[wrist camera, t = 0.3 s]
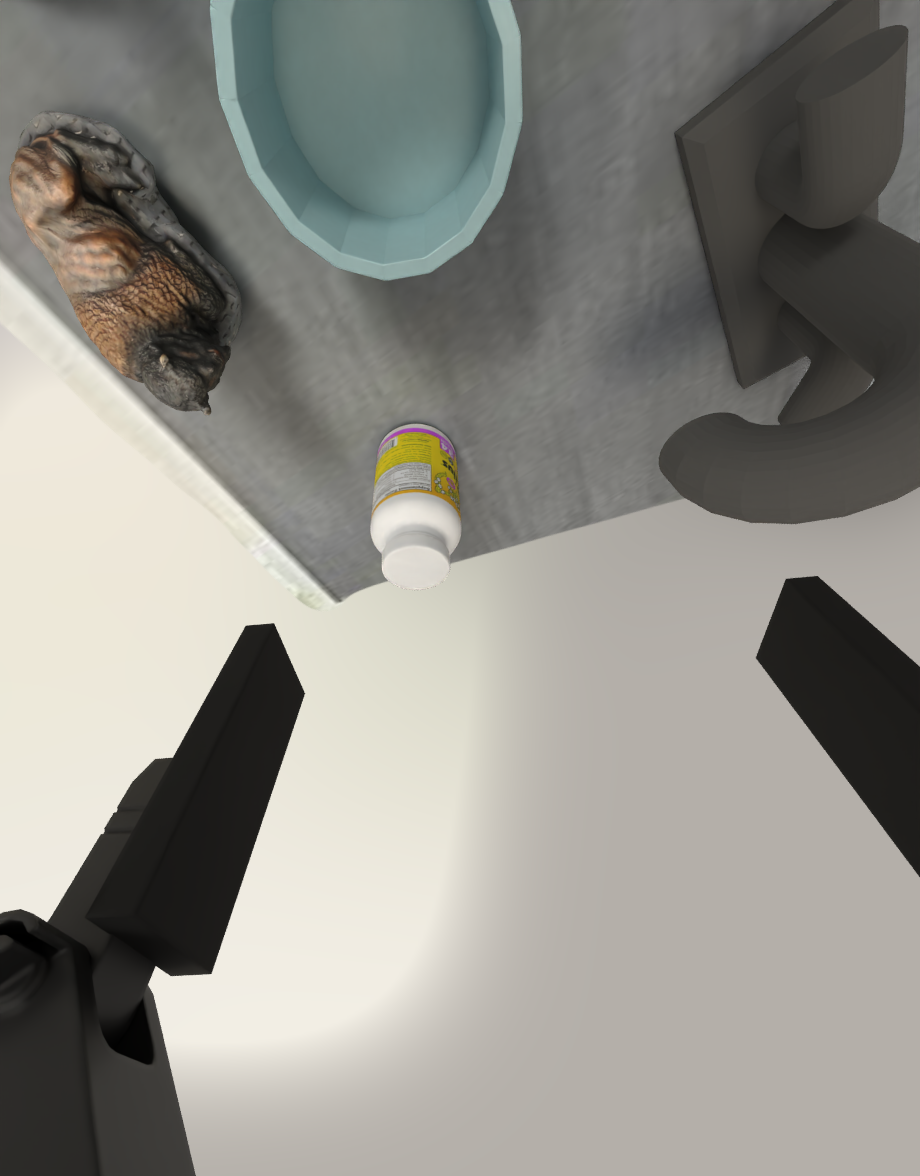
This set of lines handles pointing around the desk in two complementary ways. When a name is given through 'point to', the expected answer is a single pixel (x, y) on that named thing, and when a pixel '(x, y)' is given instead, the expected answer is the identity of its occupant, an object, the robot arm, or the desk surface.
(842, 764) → the robot arm
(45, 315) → the desk surface
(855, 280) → the faucet
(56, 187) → the brown striped lumpy figure
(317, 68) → the bowl
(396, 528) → the supplement bottle
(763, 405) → the desk surface
